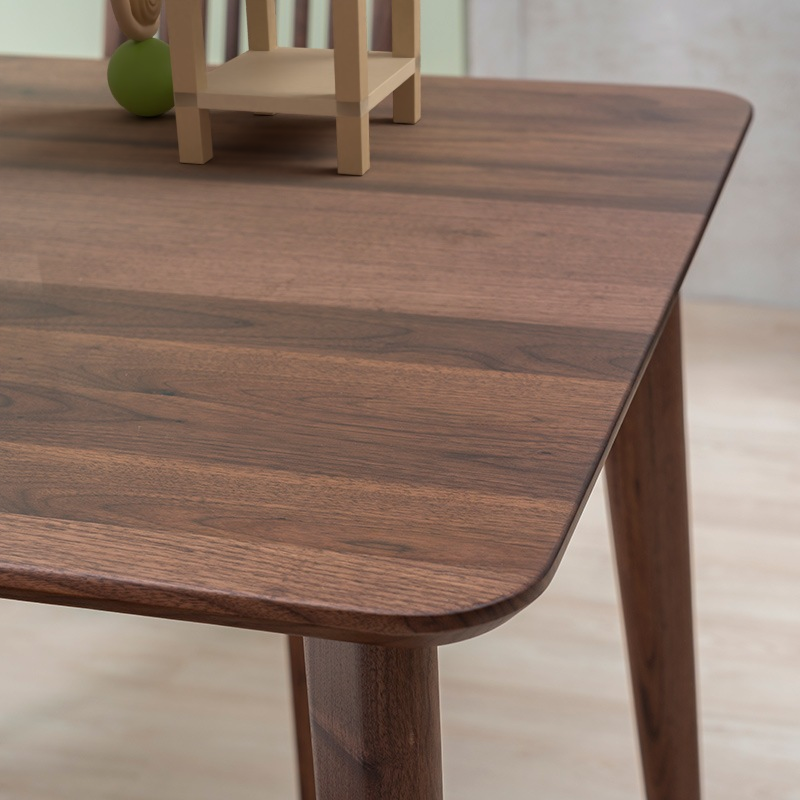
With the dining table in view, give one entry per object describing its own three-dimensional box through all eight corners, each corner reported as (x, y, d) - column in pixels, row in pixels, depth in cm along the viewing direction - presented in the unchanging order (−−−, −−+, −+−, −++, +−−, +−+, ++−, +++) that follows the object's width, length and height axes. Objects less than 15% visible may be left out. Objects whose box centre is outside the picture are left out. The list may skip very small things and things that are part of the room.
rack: (179, 162, 79) (161, -38, 73) (260, 108, 91) (249, -68, 85) (362, 175, 76) (357, -33, 70) (421, 118, 88) (420, -64, 82)
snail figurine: (90, 125, 87) (68, -57, 82) (134, 103, 93) (115, -69, 87) (162, 131, 86) (143, -55, 80) (201, 108, 91) (187, -67, 86)
